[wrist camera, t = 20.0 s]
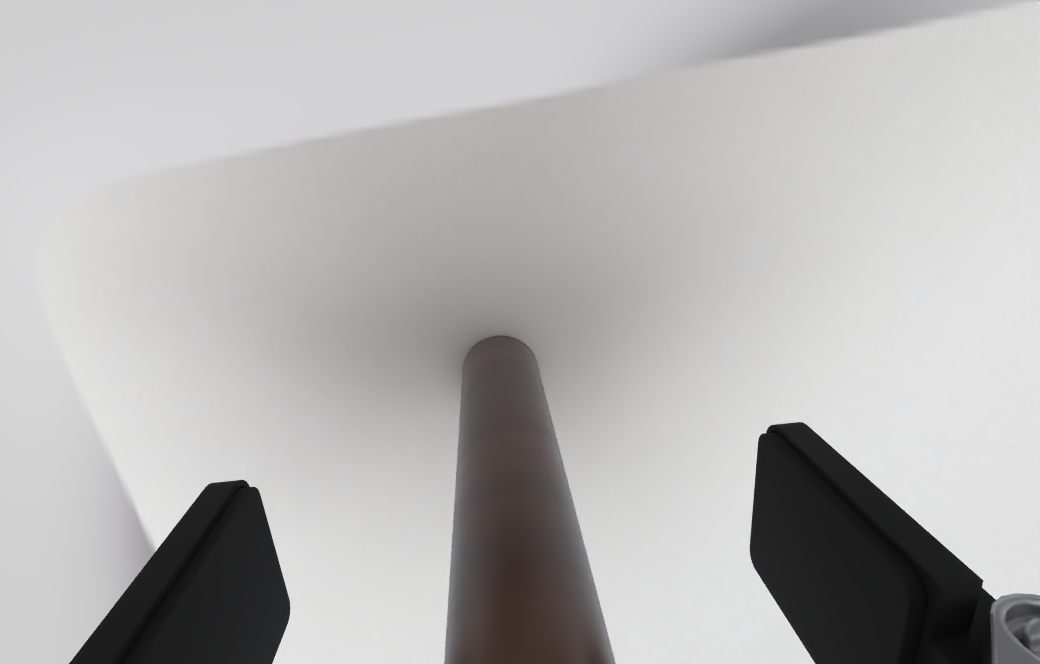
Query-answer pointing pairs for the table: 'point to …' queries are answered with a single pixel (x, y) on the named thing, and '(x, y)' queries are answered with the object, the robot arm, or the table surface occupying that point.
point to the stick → (516, 526)
